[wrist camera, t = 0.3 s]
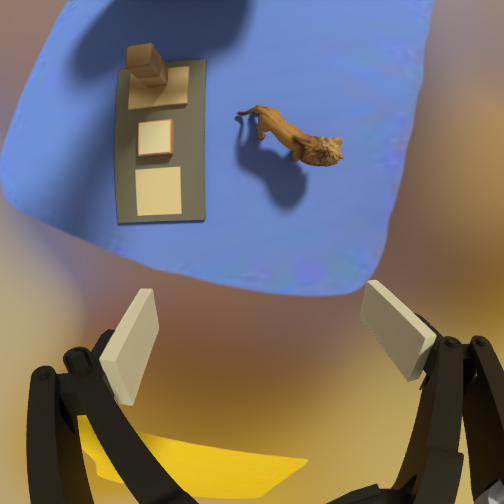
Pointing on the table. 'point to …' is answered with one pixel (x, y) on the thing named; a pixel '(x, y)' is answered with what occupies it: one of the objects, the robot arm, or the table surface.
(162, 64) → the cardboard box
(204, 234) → the table surface
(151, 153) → the cream square tile
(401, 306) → the robot arm
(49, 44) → the table surface
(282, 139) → the lion figurine
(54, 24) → the table surface
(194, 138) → the taupe mat
